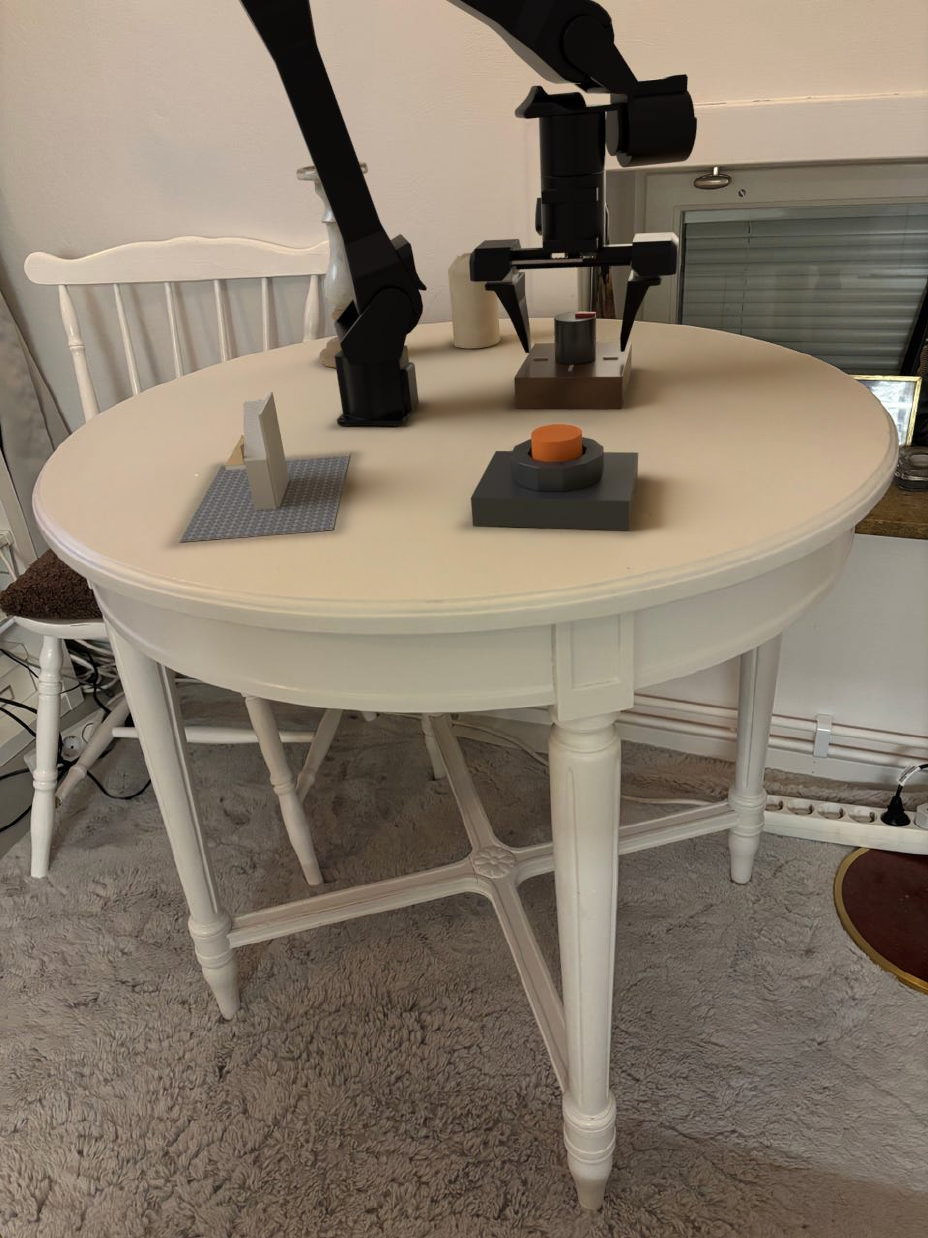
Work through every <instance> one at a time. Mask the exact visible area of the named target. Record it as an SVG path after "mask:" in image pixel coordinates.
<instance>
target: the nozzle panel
mask: <svg viewBox="0 0 928 1238" xmlns="http://www.w3.org/2000/svg"><path fill="white" fill-rule="evenodd" d="M632 349H633V342H632V341H628V342H627V345H626V349H625V351H624V352H621V351H620V341H598V342H597V341H596V359H595V360H593V361H590V362H587V363H581V364H564V363H559V362H557V361H556V360H555V343H554V342H541V343H540V342H537V343H534V344H533V346H531V351H530V353H527V356H526V357H525V359H524V361H523V363H522V364H521V366H519V369H518V371H517V372H516V374H515V376H514V377H513V381H514V382H513V383H514V404H515V409H516V410H519V409H520V410H524V409H525V410H526V409H527V410H544V409H545V410H546V409H547V410H548V409H549V410H551V409H553V410H554V409H555V410H566V409H567V410H568V409H569V410H573V409H574V410H582V409H584V410H585V409H587V410H596V409H597V410H603V409H604V410H607V409H608V410H610V409H611V410H612V409H613V410H618V409H619V410H622V409H623V407H624V401H625V397H626V394H627V389H628V385H629V381H630V377H631V374H632V357H633V356H632V354H633V353H632V352H633V351H632Z"/></svg>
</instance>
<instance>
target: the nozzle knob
mask: <svg viewBox="0 0 928 1238" xmlns="http://www.w3.org/2000/svg"><path fill="white" fill-rule="evenodd" d="M553 336H554V337H553V338H554V342H553V343H555V360H556V361H557V362H559V363H564V364H581V363H587V362H590V361H593V360H595V359H596V342H597V312H596V311H585V310H583V311H581V310H577V311H576V310H575V311H567V312H561V313H558V314H556V315H554V316H553Z"/></svg>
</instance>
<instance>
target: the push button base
mask: <svg viewBox="0 0 928 1238" xmlns="http://www.w3.org/2000/svg"><path fill="white" fill-rule="evenodd" d="M604 450H605V447H604V445H602V444H601V443H599V442H598V441H596V440H595V439H593V438H588V437H584V436H582V456H581V457H579V458H577V459H573V460H568V461H562V462H544V461H541V460H537V459H533V458H532V442H531V438H529V439H527V440H524V441H523V442H521V443H518V444H516V445H515V446H513V449H512V450H495V452H494V453H493V455H492V457H491V459H490V461H489V463H488V465H487V467H486V469H485V470H484V472H483V474H482V476H481V478H480V480H479V481H478V484H477V486H476V487H475V489H474V491H473V493H472V495H471V497H470V505H471V517H472V518H471V519H472V526H473V527H501V528H503V527H504V528H505V527H506V528H507V527H508V528H512V527H513V528H535V529H537V528H538V529H567V530H569V529H570V530H599V531H600V530H601V531H605V530H606V531H630V526H631V521H632V520H631V519H632V515H633V508H634V502H635V497H636V491H637V485H638V479H639V478H638V475H639V452H633V451H632V452H627V451H625V452H624V451H604Z"/></svg>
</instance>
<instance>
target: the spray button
mask: <svg viewBox="0 0 928 1238" xmlns="http://www.w3.org/2000/svg"><path fill="white" fill-rule="evenodd" d="M530 434H531V435H530V436H531V437H530V439H531V442H532V458H533V459H537V460H541V461H544V462H562V461H568V460H573V459H577V458H579V457H581V456H582V437H583V431H582V429H581V428H580V427H578V426H577V425H573V424H567V423H552V424H546V425H542V426H539V427H537V428H534V429H533V430H532V431H531V433H530Z"/></svg>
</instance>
